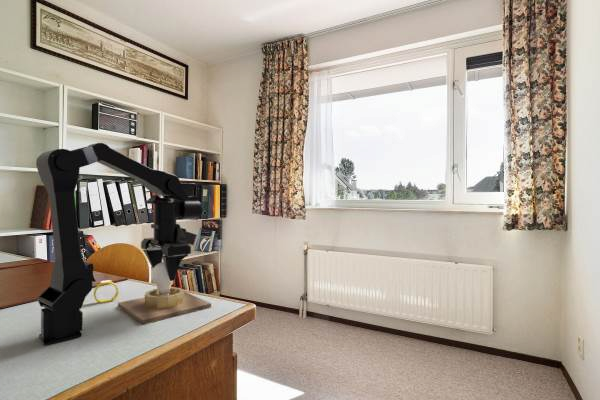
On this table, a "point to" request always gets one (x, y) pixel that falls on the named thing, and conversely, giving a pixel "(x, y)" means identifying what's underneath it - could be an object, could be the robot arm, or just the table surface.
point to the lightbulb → (161, 279)
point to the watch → (105, 284)
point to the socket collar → (164, 298)
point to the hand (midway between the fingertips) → (164, 277)
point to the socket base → (148, 315)
